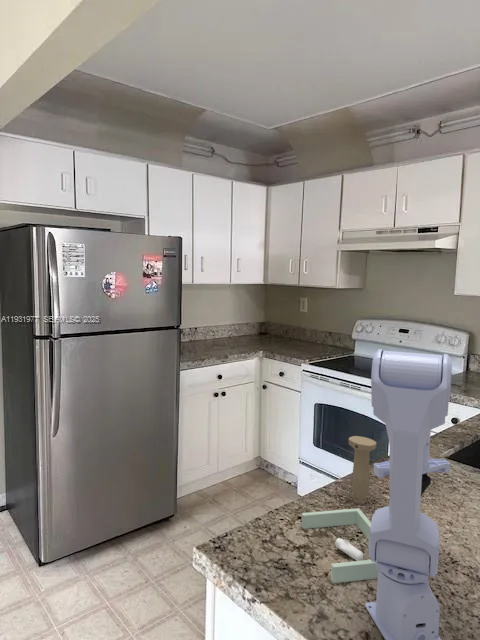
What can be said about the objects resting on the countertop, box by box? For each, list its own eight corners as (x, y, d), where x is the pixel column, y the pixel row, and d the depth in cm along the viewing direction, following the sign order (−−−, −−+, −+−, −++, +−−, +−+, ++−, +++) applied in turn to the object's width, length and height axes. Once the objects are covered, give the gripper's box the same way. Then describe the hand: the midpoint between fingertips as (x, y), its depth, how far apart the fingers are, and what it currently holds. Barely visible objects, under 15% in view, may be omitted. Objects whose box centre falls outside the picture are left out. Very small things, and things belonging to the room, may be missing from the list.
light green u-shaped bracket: (401, 575, 81) (402, 559, 81) (332, 583, 79) (333, 567, 79) (358, 521, 99) (359, 508, 99) (301, 526, 97) (301, 513, 96)
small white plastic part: (351, 568, 83) (352, 552, 83) (332, 550, 89) (333, 535, 88) (367, 563, 85) (368, 548, 84) (347, 546, 90) (348, 531, 90)
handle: (366, 510, 103) (368, 447, 102) (342, 499, 108) (344, 439, 107) (377, 503, 107) (380, 442, 105) (353, 493, 111) (356, 434, 110)
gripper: (435, 431, 90) (432, 496, 91) (367, 435, 87) (364, 502, 88) (459, 444, 83) (454, 515, 84) (385, 449, 80) (381, 521, 82)
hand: (409, 509), depth 86 cm, fingers closed
